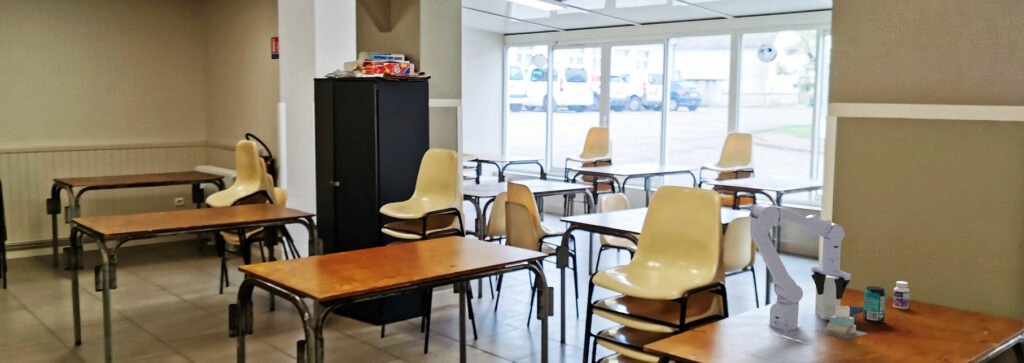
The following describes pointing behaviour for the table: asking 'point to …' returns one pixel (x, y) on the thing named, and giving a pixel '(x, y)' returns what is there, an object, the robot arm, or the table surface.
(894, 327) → the table surface
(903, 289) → the pill bottle
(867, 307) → the beverage can
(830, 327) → the bottom block
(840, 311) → the white short cylinder
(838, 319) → the top block
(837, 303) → the skincare box
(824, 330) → the mat
